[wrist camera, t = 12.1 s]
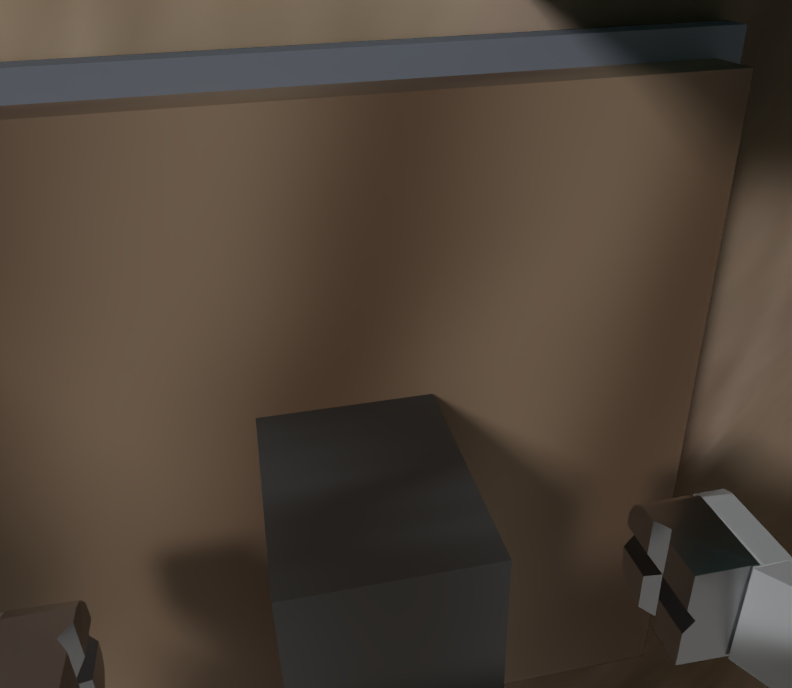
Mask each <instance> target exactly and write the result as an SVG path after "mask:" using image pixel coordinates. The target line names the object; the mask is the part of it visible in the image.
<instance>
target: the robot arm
mask: <svg viewBox="0 0 792 688" xmlns="http://www.w3.org/2000/svg"><path fill="white" fill-rule="evenodd" d="M627 525H628V526H629V528H630V529H631V531H632V532H633V534H634V535H633V536H632V538H631V539H630V540H629V541H628V542H627V543H626V545H625V546H624V550H623V559H622V565H623V571H624V577H625V581H626V584H627V586H628V589H629V591H630V594H631V595H632V597H633V599H634V600H635V602H636V604H637V605H638V607H640V608H642V609H643V610H645V611H647V612H649V613H650V614H652V615H654V616H655V619H654V626H653V631H654V632H655V634H656V635H657V637H658V639H659V640H660V642H661V643H662V645H663V646H664V648H665V650H666V651H667V653H668V654H669V656H670V657H671V659H672V661H673V662H674V664H675V665H680V664H686V663H691V662H697V661H703V660H708V659H714V658H719V657H725V656H729V657H728V659H729V660H731V661H732V662H733V663H735V664H736V665H738V666H739V667H740V668H742V669H743V670H745V671H746V672H748V673H749V674H750V675H752V676H753V677H755V678H756V679H757V680H759V681H760V682H762V683H763V684H765V685H766V686H767V687H769V688H792V557H791V556H790V554H789V553H788V552H787V551H786V550H785V549H784V548H783V547H782V546H781V545H780V544H779V543H778V542H777V541H776V539H775V538H774V537H773V536H772V535H771V534H770V533H769V532H768V531H767V530H766V529H765V528H764V527H763V526H762V524H761V523H760V522H759V521H758V520H757V519H756V518H755V517H754V516H753V515H752V514H751V513H750V512H749V511H748V509H747V508H746V507H745V506H744V505H743V504H742V503H741V502H740V501H739V500H738V499H737V498H736V497H735V496H734V494H733V493H731V492H730V491H728V490H726V489H718V490H713V491H707V492H702V493H696V494H693V495H686V496H681V497H675V498H669V499H664V500H658V501H653V502H647V503H642V504H636V505H634V506H633V507H632V509H631V511H630V512H629V518H628V524H627ZM90 624H91V616H90V613H89V610H88V608H87V605H86V602H85V601H82V600H77V601H70V602H63V603H56V604H50V605H43V606H36V607H29V608H22V609H16V610H9V611H5V612H1V613H0V688H105V668H104V661H103V655H102V651H101V648H100V644H99V641H98V640H96V639H94V638H93V637H91V636H89V630H90Z"/></svg>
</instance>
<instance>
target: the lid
mask: <svg viewBox="0 0 792 688" xmlns="http://www.w3.org/2000/svg"><path fill="white" fill-rule="evenodd" d="M753 71H754V68H753V67H749V66H745V65H741V64H737V63H733V62H730V61H726V60H722V59H718V58H712V59H697V60H682V61H667V62H652V63H637V64H622V65H607V66H592V67H577V68H562V69H546V70H531V71H516V72H501V73H486V74H471V75H456V76H441V77H426V78H411V79H396V80H381V81H366V82H351V83H336V84H321V85H306V86H291V87H276V88H261V89H246V90H231V91H216V92H201V93H186V94H171V95H156V96H141V97H125V98H110V99H95V100H80V101H65V102H50V103H35V104H20V105H5V106H0V613H1V612H5V611H9V610H16V609H22V608H29V607H36V606H43V605H50V604H56V603H63V602H70V601H77V600H82V601H85V602H86V605H87V608H88V610H89V613H90V616H91V624H90V630H89V636H91V637H93V638H94V639H96V640H98V641H99V644H100V648H101V651H102V655H103V661H104V668H105V688H504V684H508V683H513V682H518V681H522V680H527V679H532V678H537V677H542V676H547V675H551V674H556V673H561V672H566V671H571V670H575V669H580V668H585V667H590V666H595V665H599V664H604V663H609V662H614V661H619V660H624V659H628V658H633V657H638V656H643V653H644V648H645V643H646V637H647V632H648V627H649V622H650V616H651V614H650V613H649V612H647V611H645V610H643V609H642V608H640V607H638V605H637V604H636V602H635V600H634V599H633V597H632V595H631V594H630V591H629V589H628V586H627V584H626V581H625V577H624V571H623V565H622V559H623V550H624V546H625V545H626V543H627V542H628V541H629V540H630V539H631V538H632V536H633V535H634V534H633V532H632V531H631V529H630V528H629V526H628V525H627V524H628V518H629V512H630V511H631V509H632V507H633V506H634V505H636V504H642V503H647V502H653V501H658V500H664V499H669V498H673V495H674V489H675V484H676V479H677V473H678V468H679V463H680V458H681V452H682V447H683V442H684V436H685V431H686V426H687V421H688V415H689V410H690V405H691V399H692V394H693V389H694V384H695V378H696V373H697V368H698V362H699V357H700V352H701V346H702V341H703V336H704V331H705V325H706V320H707V315H708V309H709V304H710V299H711V294H712V288H713V283H714V278H715V272H716V267H717V262H718V257H719V251H720V246H721V241H722V235H723V230H724V225H725V220H726V214H727V209H728V204H729V198H730V193H731V188H732V183H733V177H734V172H735V167H736V161H737V156H738V151H739V145H740V140H741V135H742V130H743V124H744V119H745V114H746V108H747V103H748V98H749V93H750V87H751V82H752V77H753Z"/></svg>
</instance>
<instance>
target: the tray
mask: <svg viewBox="0 0 792 688" xmlns="http://www.w3.org/2000/svg"><path fill="white" fill-rule="evenodd" d="M746 30H747V24H744V23H738V22H732V21H727V20H723V21H706V22H688V23H671V24H654V25H636V26H619V27H602V28H584V29H567V30H549V31H532V32H515V33H497V34H480V35H463V36H445V37H428V38H411V39H393V40H376V41H358V42H341V43H324V44H306V45H289V46H272V47H254V48H237V49H219V50H202V51H185V52H167V53H150V54H133V55H115V56H98V57H81V58H63V59H46V60H28V61H11V62H0V106H5V105H20V104H35V103H50V102H65V101H80V100H95V99H110V98H125V97H141V96H156V95H171V94H186V93H201V92H216V91H231V90H246V89H261V88H276V87H291V86H306V85H321V84H336V83H351V82H366V81H381V80H396V79H411V78H426V77H441V76H456V75H471V74H486V73H501V72H516V71H531V70H546V69H562V68H577V67H592V66H607V65H622V64H637V63H652V62H667V61H682V60H697V59H712V58H718V59H722V60H726V61H730V62H733V63H737V64H740V63H741V57H742V52H743V46H744V41H745V35H746Z"/></svg>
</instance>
